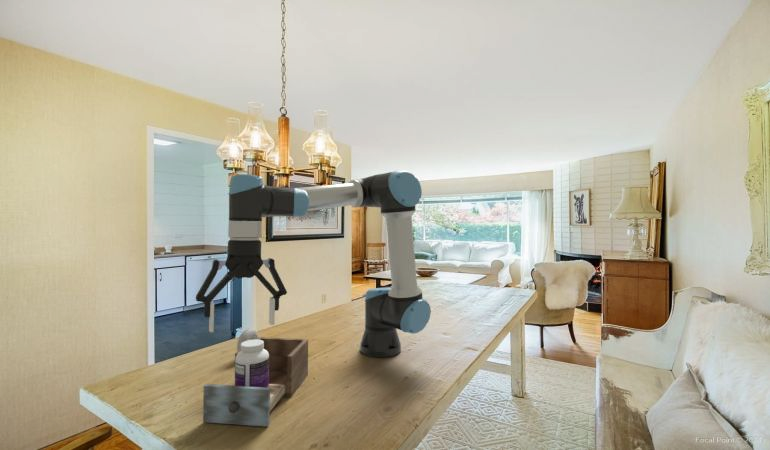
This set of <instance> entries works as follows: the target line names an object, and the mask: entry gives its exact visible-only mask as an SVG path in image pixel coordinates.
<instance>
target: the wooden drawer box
mask: <svg viewBox="0 0 770 450" xmlns="http://www.w3.org/2000/svg"><path fill="white" fill-rule="evenodd" d="M257 339H258V340H263V341H264V348H263V349H265V350H267V351H268V353H269V384H277V385H285V393H284V395H283V396H282V397H281V398H283V397H284V398H292V397H293V395H295V393H296V392H297V390H298V389H299V388H300V386H301V385H302V383H303V382H304V381H305V379H306V378H307V376H308V374H309V339H308V338H291V337H290V338H288V337H287V338H285V337H267V336H266V337H265V336H263V337H262V336H258V338H257ZM239 352H241V350H239V351H238V352H235V353H234V359H235V358H236V356H237V354H238V353H239Z"/></svg>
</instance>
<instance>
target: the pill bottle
mask: <svg viewBox="0 0 770 450" xmlns="http://www.w3.org/2000/svg"><path fill="white" fill-rule="evenodd" d="M263 348H264V341H263V340H258V339H254V340H247V341H244V342H242V343H241V352H239V353H238V354H237V356H236V358H235V357H234V386H248V387H265V388H269V353H268V351H267V350H265V349H263Z"/></svg>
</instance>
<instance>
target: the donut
mask: <svg viewBox="0 0 770 450" xmlns="http://www.w3.org/2000/svg"><path fill="white" fill-rule="evenodd" d="M258 337H259V334H258V331H257V330H256V329H255V328H252V327H251V328H246V329H245V330H243V331H242V332H241V333H240V335H239V337H238V339H237V342H236V343H237V344H236V351H237V352H238V351H239V350H241V343H242V342H244V341H247V340H254V339H257V338H258ZM237 352H236V353H237Z"/></svg>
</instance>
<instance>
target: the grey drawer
mask: <svg viewBox="0 0 770 450" xmlns="http://www.w3.org/2000/svg"><path fill="white" fill-rule="evenodd" d="M284 393H285V385H277V384H269V388H265V387H248V386H235V385H229V384H213V383H212V384H211V383H205V384H204V385H203V400H202V401H203V403H202V405H203V406H202V408H203V409H202V410H203V411H202V414H203V415H202V423H212V424H225V425H238V426H239V425H240V426H252V427H253V426H255V427H269V425H270V420H271V418H270V417H271V416H270V413H271V411H272V410H273V409H274V407H275V406H276V405H277V403H278V402H279V401H280V400H281V398H283V397H282V396H283V395H284Z"/></svg>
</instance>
